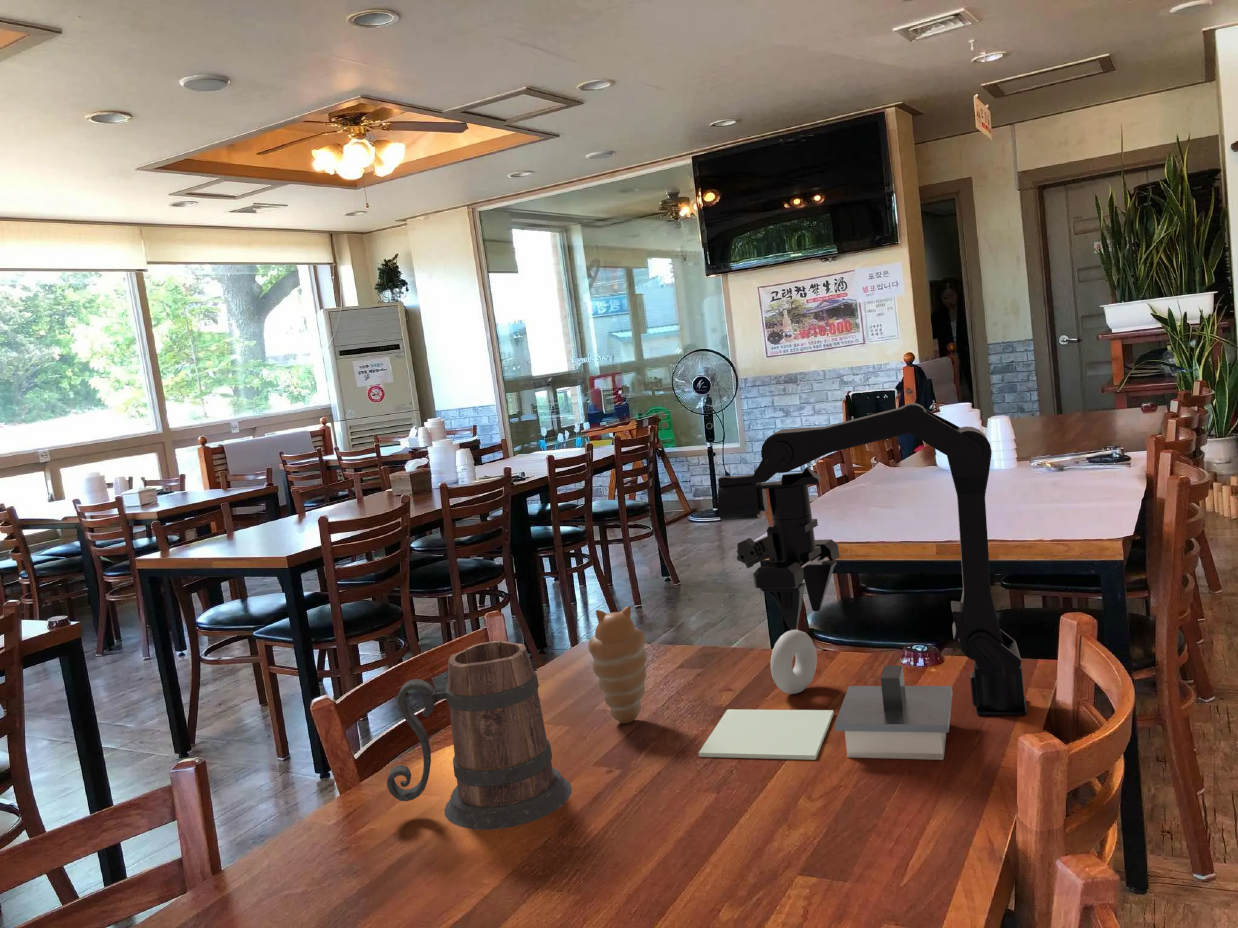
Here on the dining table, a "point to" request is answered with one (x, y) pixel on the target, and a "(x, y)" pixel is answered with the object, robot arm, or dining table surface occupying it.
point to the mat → (768, 734)
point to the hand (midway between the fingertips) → (805, 619)
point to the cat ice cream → (619, 663)
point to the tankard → (489, 740)
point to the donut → (783, 659)
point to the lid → (895, 706)
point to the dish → (895, 745)
